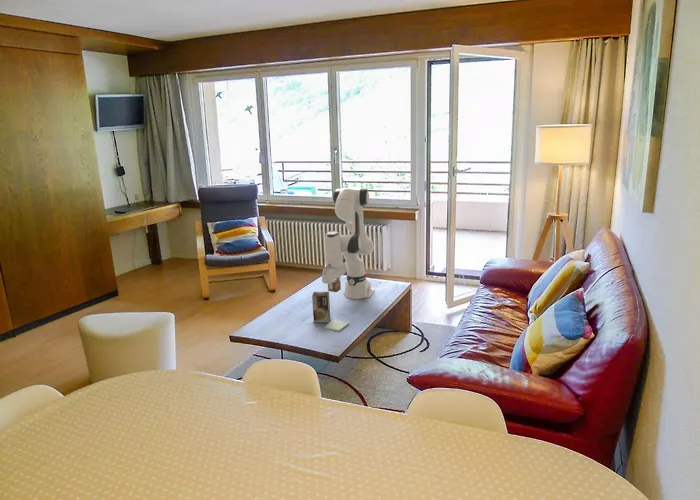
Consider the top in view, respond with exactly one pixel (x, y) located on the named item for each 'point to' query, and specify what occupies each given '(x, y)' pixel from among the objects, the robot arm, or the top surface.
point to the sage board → (336, 325)
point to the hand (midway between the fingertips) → (334, 286)
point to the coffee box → (321, 306)
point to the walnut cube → (335, 286)
